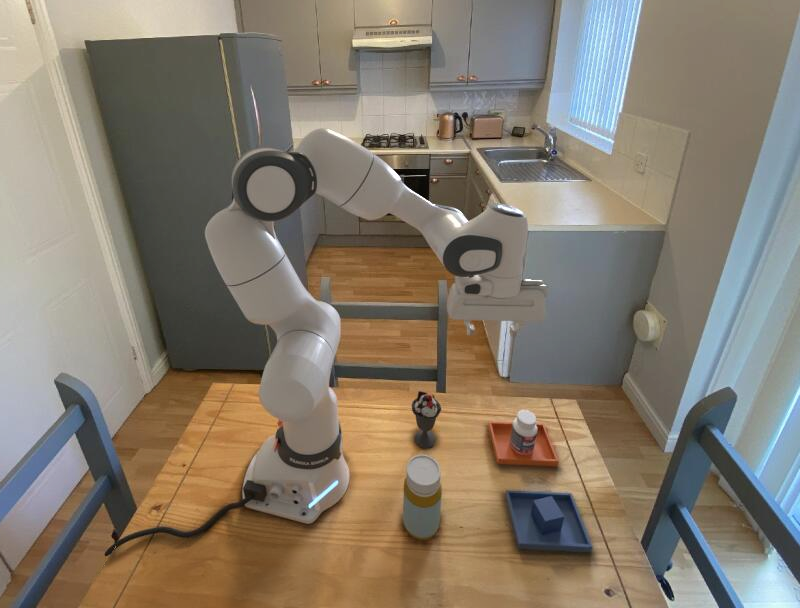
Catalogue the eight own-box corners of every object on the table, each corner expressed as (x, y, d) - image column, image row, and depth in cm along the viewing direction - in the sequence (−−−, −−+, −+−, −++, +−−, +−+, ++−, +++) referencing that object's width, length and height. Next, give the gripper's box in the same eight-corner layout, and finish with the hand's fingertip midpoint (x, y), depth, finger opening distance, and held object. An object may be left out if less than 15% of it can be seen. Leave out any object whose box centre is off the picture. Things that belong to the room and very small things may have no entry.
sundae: (436, 454, 95) (439, 405, 89) (407, 446, 97) (409, 397, 91) (441, 431, 101) (444, 383, 95) (414, 424, 103) (415, 376, 97)
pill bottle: (521, 459, 93) (526, 430, 90) (504, 441, 97) (509, 413, 94) (538, 449, 95) (544, 420, 92) (521, 432, 100) (526, 404, 96)
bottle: (438, 545, 78) (442, 491, 72) (400, 537, 79) (401, 483, 73) (439, 508, 84) (443, 455, 78) (405, 501, 86) (406, 449, 80)
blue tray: (517, 550, 77) (519, 543, 76) (504, 496, 86) (505, 489, 85) (590, 554, 76) (592, 547, 75) (569, 499, 85) (571, 492, 85)
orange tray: (497, 465, 93) (498, 458, 92) (487, 427, 102) (488, 421, 101) (557, 467, 92) (558, 461, 91) (542, 429, 101) (543, 423, 100)
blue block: (542, 535, 79) (545, 521, 77) (530, 513, 82) (533, 500, 81) (561, 530, 79) (564, 516, 78) (548, 509, 83) (551, 495, 82)
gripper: (544, 273, 89) (535, 326, 94) (448, 271, 90) (444, 324, 96) (555, 288, 83) (545, 344, 89) (451, 286, 85) (447, 342, 90)
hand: (492, 334), depth 92 cm, fingers open, 8 cm apart
